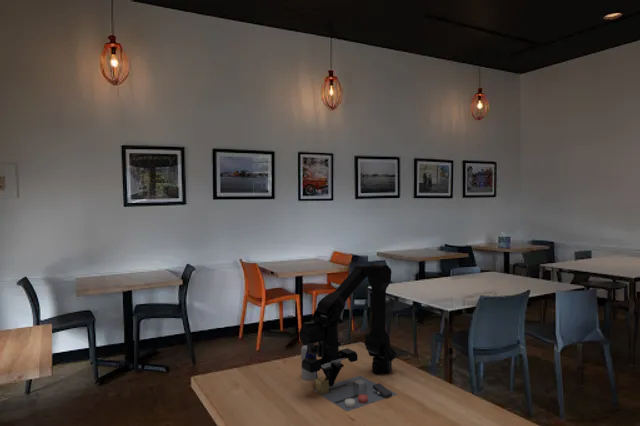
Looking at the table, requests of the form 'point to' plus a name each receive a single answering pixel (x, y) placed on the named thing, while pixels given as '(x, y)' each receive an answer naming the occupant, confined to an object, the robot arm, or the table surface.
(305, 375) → the energy drink
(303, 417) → the table surface
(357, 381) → the steel slider
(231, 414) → the table surface
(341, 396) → the panel
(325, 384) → the brass slider
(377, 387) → the dark grey small block
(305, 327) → the robot arm
